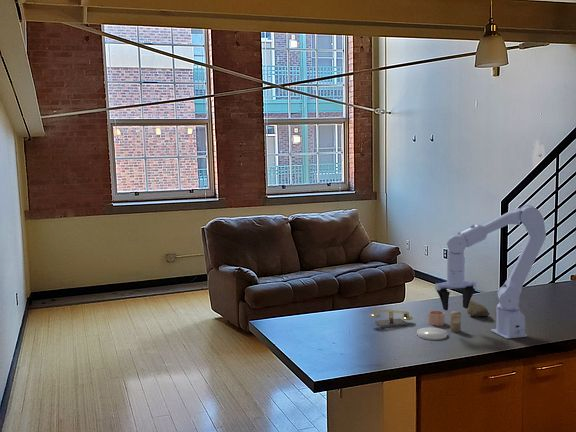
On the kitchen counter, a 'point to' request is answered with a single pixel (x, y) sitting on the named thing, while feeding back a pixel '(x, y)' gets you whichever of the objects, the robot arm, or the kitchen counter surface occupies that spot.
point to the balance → (391, 318)
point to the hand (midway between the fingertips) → (455, 308)
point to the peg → (455, 321)
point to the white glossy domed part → (432, 333)
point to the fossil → (477, 309)
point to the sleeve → (437, 318)
